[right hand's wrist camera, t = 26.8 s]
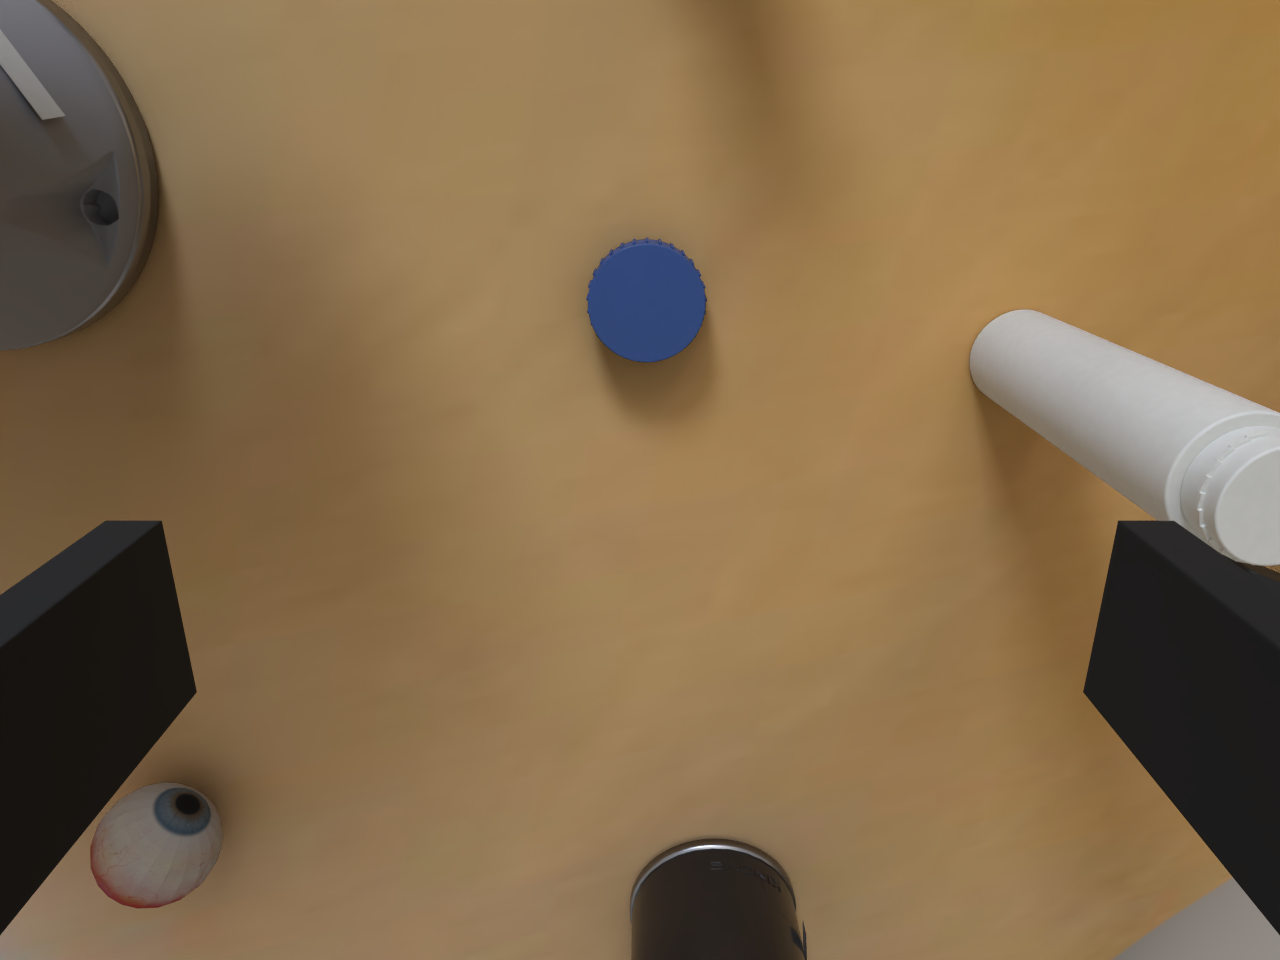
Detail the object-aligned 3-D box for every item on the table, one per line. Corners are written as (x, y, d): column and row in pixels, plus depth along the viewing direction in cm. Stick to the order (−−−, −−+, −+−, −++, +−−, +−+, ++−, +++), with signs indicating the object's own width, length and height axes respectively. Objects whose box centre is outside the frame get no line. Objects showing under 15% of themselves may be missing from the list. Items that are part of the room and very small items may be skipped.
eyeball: (264, 792, 49) (215, 877, 43) (208, 864, 50) (154, 954, 45) (164, 735, 47) (101, 815, 42) (110, 811, 49) (42, 897, 44)
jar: (955, 391, 41) (1173, 563, 24) (988, 299, 40) (1244, 414, 23) (1044, 410, 41) (1319, 593, 25) (1079, 320, 40) (1397, 448, 23)
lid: (688, 223, 38) (691, 227, 37) (716, 337, 40) (719, 347, 38) (574, 255, 39) (571, 260, 37) (606, 366, 41) (605, 377, 39)
